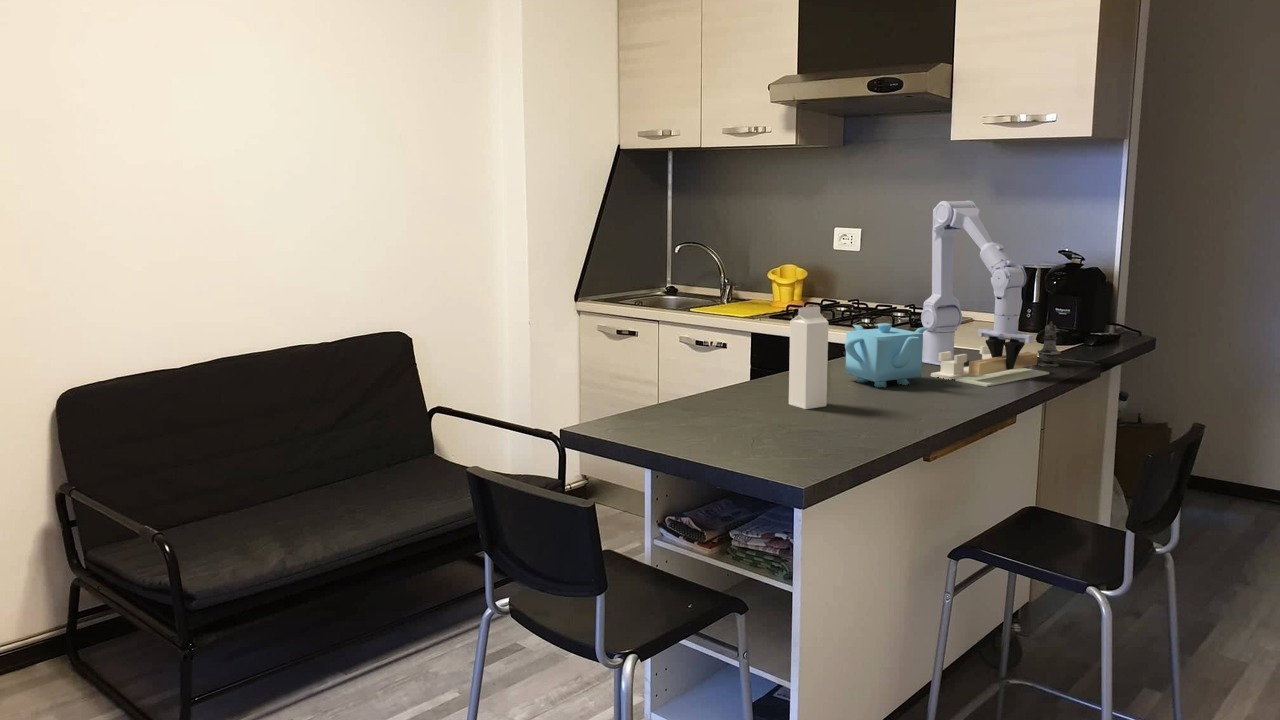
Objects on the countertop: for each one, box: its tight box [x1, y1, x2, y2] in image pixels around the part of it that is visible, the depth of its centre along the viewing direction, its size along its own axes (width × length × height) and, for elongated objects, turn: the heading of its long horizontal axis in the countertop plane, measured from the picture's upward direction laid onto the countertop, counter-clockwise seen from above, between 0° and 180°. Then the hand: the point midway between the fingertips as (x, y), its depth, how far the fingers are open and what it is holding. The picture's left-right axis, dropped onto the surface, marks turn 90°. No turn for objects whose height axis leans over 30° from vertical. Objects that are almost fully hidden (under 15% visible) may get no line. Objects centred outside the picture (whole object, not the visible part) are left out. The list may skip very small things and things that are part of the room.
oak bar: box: [968, 351, 1039, 376], centre depth 243 cm, size 3×24×3 cm, turn 125°
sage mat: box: [954, 367, 1050, 387], centre depth 243 cm, size 9×26×1 cm, turn 125°
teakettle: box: [844, 322, 929, 388], centre depth 238 cm, size 19×19×15 cm
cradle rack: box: [930, 344, 1006, 381], centre depth 250 cm, size 6×26×6 cm, turn 125°
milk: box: [788, 305, 829, 410], centre depth 212 cm, size 6×6×22 cm
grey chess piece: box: [1037, 320, 1062, 368], centre depth 258 cm, size 6×6×12 cm
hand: (1003, 368), depth 243 cm, fingers closed on oak bar, 3 cm apart
